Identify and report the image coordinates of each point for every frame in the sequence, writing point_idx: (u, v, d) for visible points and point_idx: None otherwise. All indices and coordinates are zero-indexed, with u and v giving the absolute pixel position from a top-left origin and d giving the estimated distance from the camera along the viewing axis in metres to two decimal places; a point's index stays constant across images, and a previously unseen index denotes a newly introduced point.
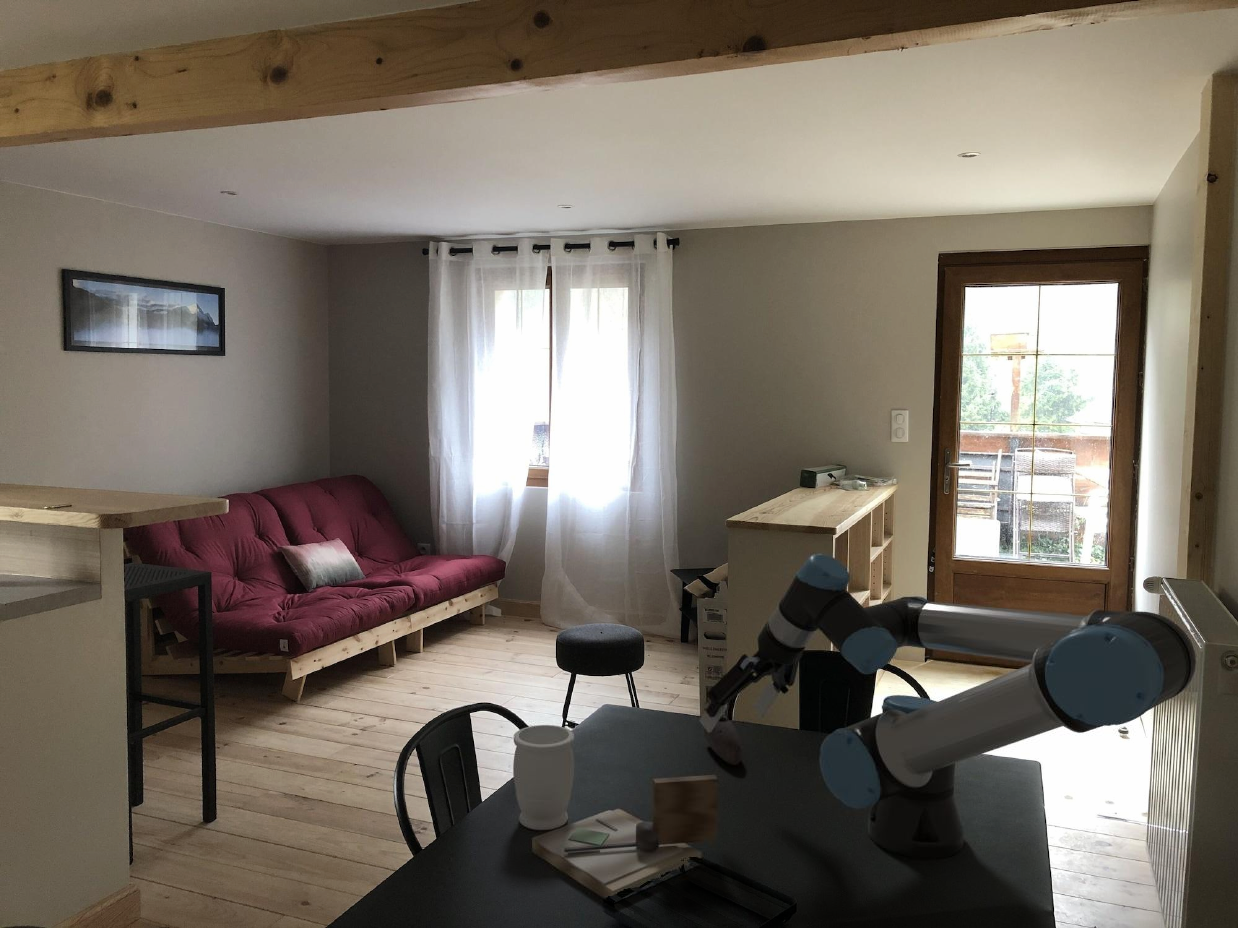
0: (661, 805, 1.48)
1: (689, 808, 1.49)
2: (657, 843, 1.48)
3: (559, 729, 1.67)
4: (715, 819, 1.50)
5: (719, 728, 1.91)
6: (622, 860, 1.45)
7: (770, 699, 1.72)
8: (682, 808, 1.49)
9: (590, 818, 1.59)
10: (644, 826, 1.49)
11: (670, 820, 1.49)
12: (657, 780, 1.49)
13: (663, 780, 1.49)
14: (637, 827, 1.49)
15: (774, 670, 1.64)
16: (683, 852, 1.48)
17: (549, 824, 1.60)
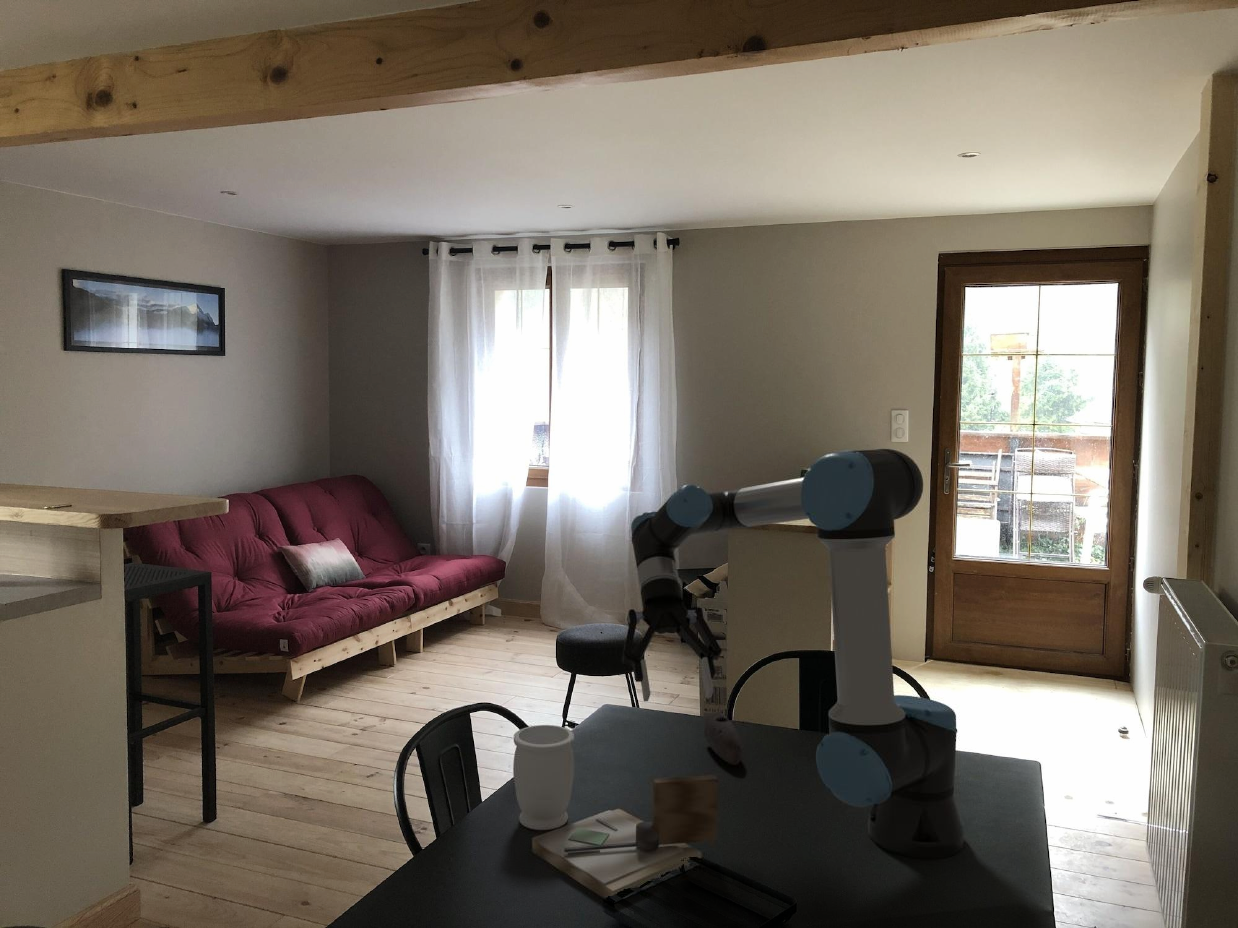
0: (661, 805, 1.48)
1: (689, 808, 1.49)
2: (657, 843, 1.48)
3: (559, 729, 1.67)
4: (715, 819, 1.50)
5: (719, 728, 1.91)
6: (622, 860, 1.45)
7: (704, 669, 1.67)
8: (682, 808, 1.49)
9: (590, 818, 1.59)
10: (644, 826, 1.49)
11: (670, 820, 1.49)
12: (657, 780, 1.49)
13: (663, 780, 1.49)
14: (637, 827, 1.49)
15: (674, 621, 1.72)
16: (683, 852, 1.48)
17: (549, 824, 1.60)
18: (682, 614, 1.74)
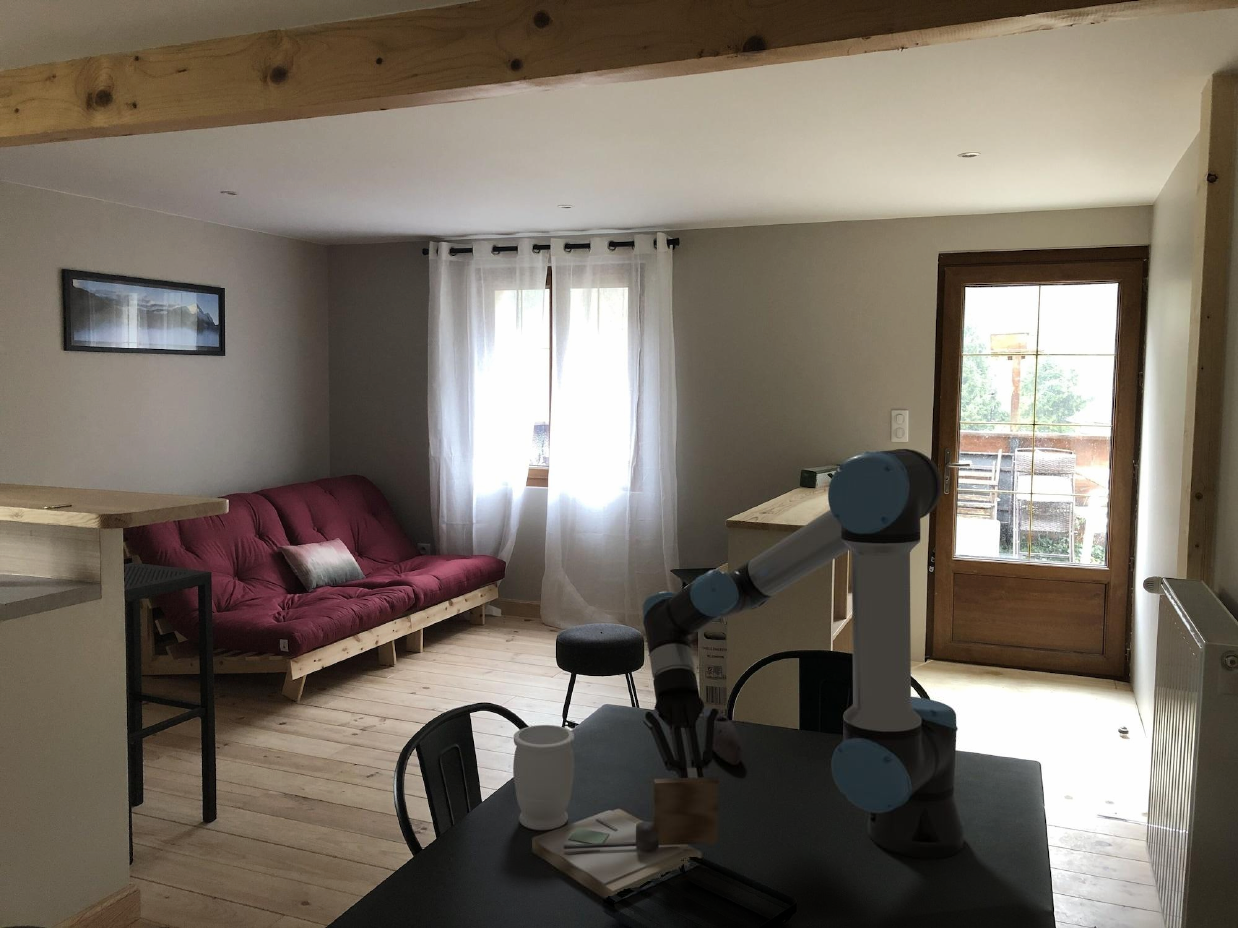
0: (661, 805, 1.48)
1: (689, 809, 1.49)
2: (657, 843, 1.48)
3: (559, 729, 1.67)
4: (716, 821, 1.49)
5: (719, 728, 1.91)
6: (622, 860, 1.45)
7: None
8: (682, 809, 1.49)
9: (590, 818, 1.59)
10: (645, 825, 1.49)
11: (670, 821, 1.48)
12: (657, 780, 1.49)
13: (664, 780, 1.49)
14: (637, 827, 1.49)
15: None
16: (683, 852, 1.48)
17: (549, 824, 1.60)
18: (695, 707, 1.62)
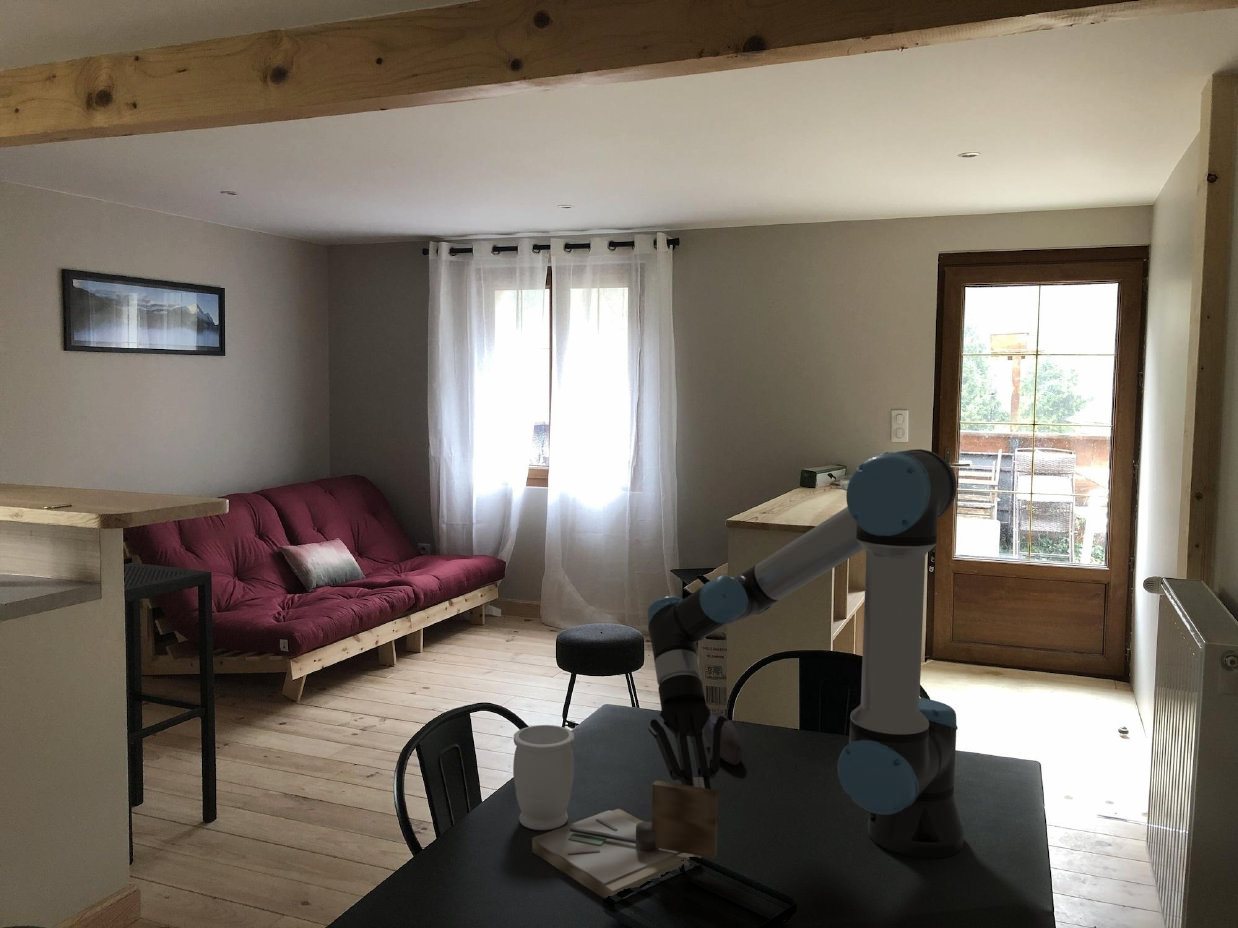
0: (658, 808, 1.47)
1: (686, 818, 1.46)
2: (653, 845, 1.48)
3: (559, 729, 1.67)
4: (713, 836, 1.44)
5: None
6: (622, 860, 1.45)
7: None
8: (678, 815, 1.46)
9: (590, 818, 1.59)
10: (645, 825, 1.49)
11: (667, 825, 1.47)
12: (657, 782, 1.48)
13: (663, 783, 1.47)
14: (637, 825, 1.50)
15: None
16: None
17: (549, 824, 1.60)
18: (701, 714, 1.58)
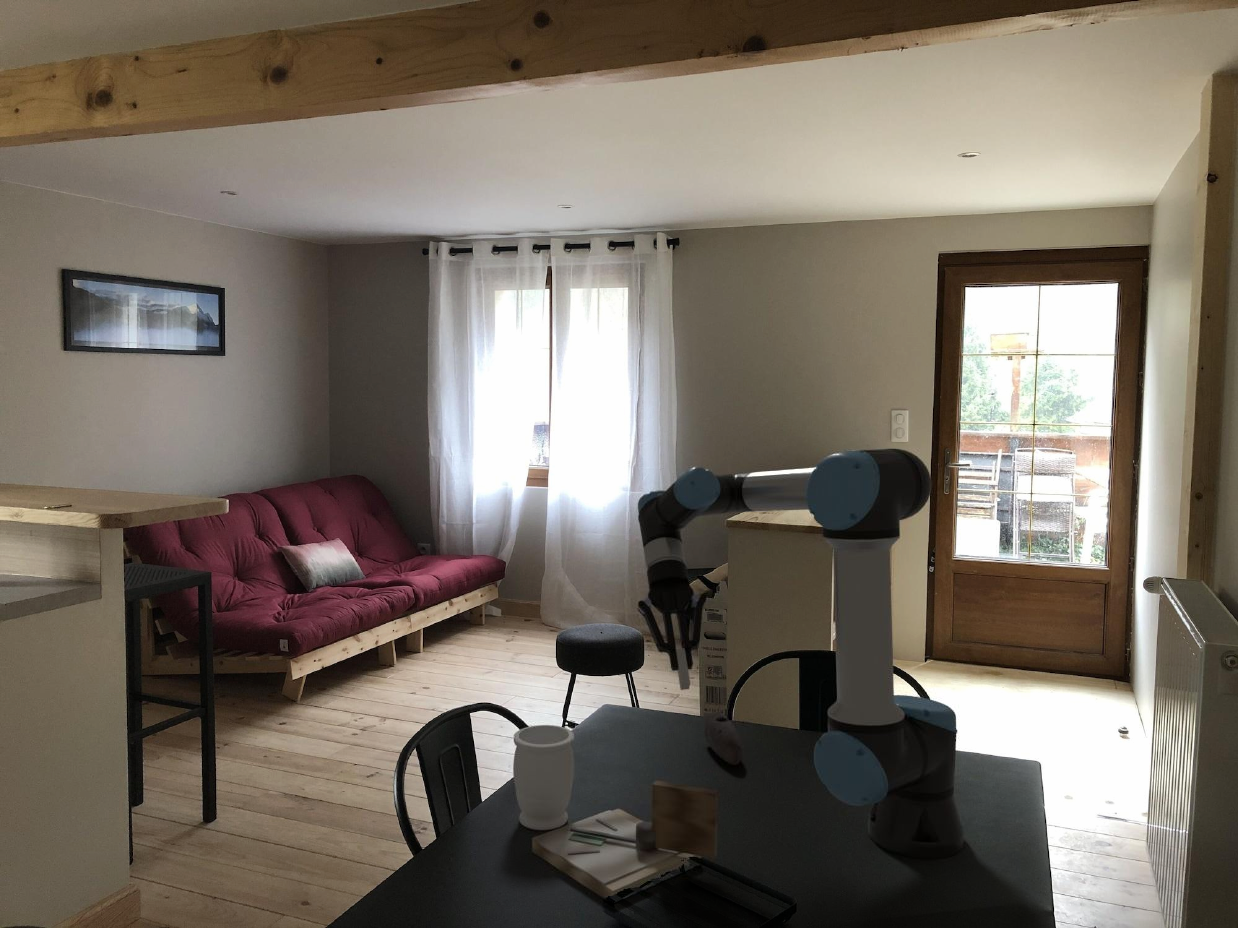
0: (658, 808, 1.47)
1: (686, 818, 1.46)
2: (653, 845, 1.48)
3: (559, 729, 1.67)
4: (713, 836, 1.44)
5: (719, 728, 1.91)
6: (622, 860, 1.45)
7: None
8: (678, 816, 1.46)
9: (590, 818, 1.59)
10: (645, 825, 1.49)
11: (667, 825, 1.47)
12: (657, 782, 1.48)
13: (663, 783, 1.47)
14: (637, 825, 1.50)
15: None
16: None
17: (549, 824, 1.60)
18: (685, 594, 1.75)
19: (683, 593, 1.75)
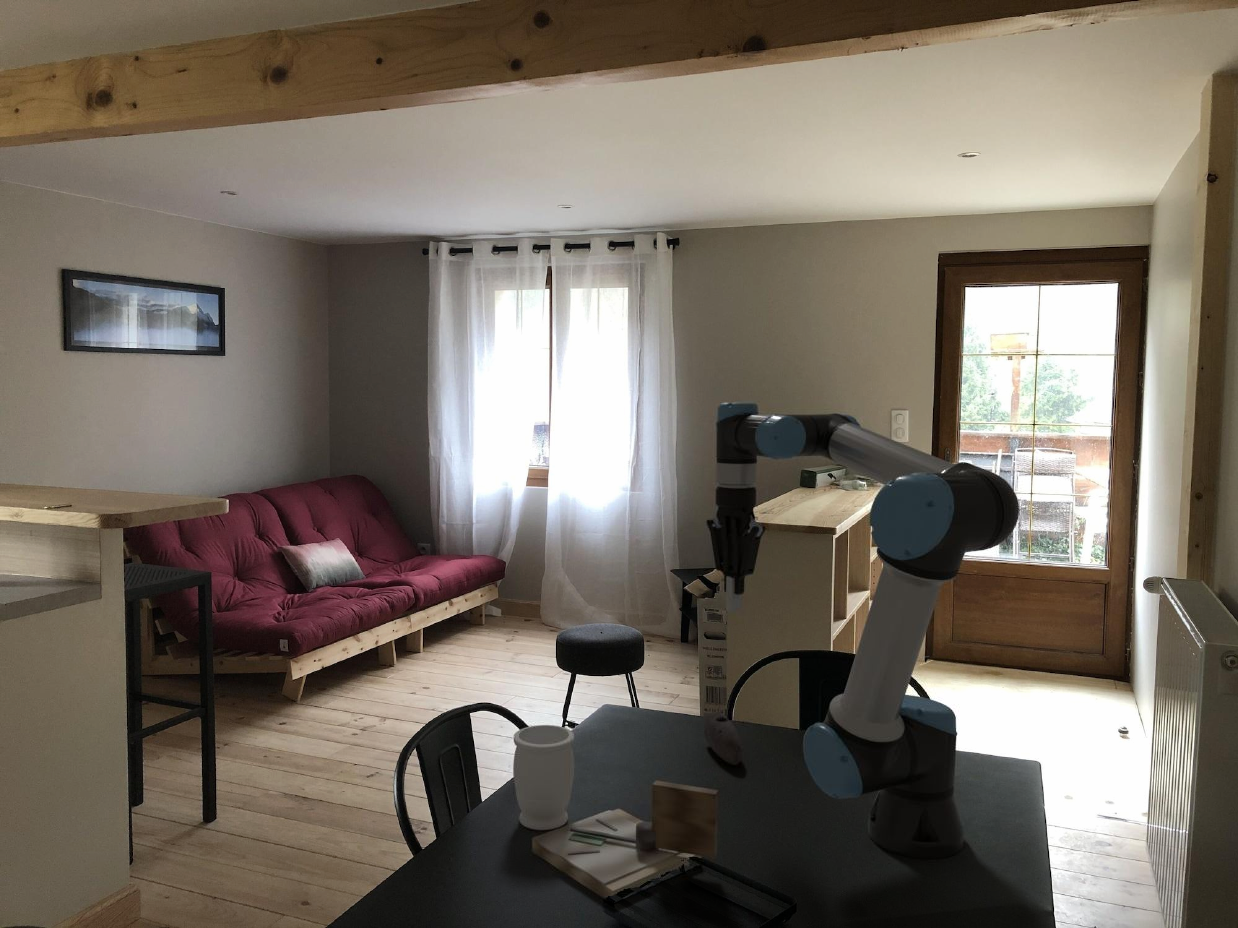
0: (658, 808, 1.47)
1: (686, 818, 1.46)
2: (653, 845, 1.48)
3: (559, 729, 1.67)
4: (713, 836, 1.44)
5: (719, 728, 1.91)
6: (622, 860, 1.45)
7: None
8: (678, 816, 1.46)
9: (590, 818, 1.59)
10: (645, 825, 1.49)
11: (667, 825, 1.47)
12: (657, 782, 1.48)
13: (663, 783, 1.47)
14: (637, 825, 1.50)
15: None
16: None
17: (549, 824, 1.60)
18: (741, 522, 1.75)
19: (740, 520, 1.76)
